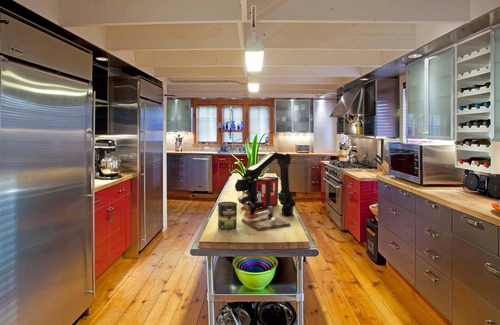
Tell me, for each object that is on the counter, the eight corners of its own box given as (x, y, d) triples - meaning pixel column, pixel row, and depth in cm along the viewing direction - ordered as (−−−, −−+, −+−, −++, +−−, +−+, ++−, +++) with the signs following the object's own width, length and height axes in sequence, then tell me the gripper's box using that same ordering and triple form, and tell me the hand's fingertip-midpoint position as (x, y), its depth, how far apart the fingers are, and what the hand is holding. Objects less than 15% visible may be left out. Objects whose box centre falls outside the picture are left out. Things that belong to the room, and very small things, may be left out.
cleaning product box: (266, 203, 232) (267, 176, 230) (277, 204, 227) (278, 177, 225) (255, 207, 218) (256, 179, 216) (266, 209, 213) (267, 180, 211)
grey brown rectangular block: (271, 222, 178) (271, 217, 178) (275, 222, 178) (275, 217, 178) (271, 225, 172) (271, 220, 172) (274, 225, 172) (274, 220, 172)
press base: (272, 217, 194) (272, 214, 194) (290, 225, 177) (290, 223, 177) (241, 221, 185) (241, 218, 185) (257, 230, 167) (257, 228, 167)
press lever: (270, 215, 192) (270, 205, 192) (273, 216, 190) (274, 206, 190) (247, 221, 179) (247, 211, 178) (250, 222, 177) (250, 212, 176)
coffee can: (238, 231, 166) (239, 205, 165) (219, 232, 163) (219, 206, 162) (234, 225, 176) (234, 200, 175) (216, 226, 173) (216, 201, 172)
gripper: (233, 187, 186) (232, 213, 188) (246, 194, 169) (246, 222, 171) (249, 186, 191) (249, 211, 193) (264, 192, 174) (264, 219, 176)
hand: (251, 215), depth 183 cm, fingers closed
